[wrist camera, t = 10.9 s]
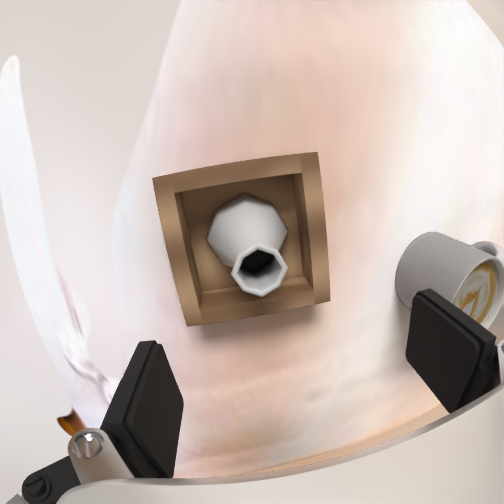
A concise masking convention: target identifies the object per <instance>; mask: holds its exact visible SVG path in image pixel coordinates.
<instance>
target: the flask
mask: <svg viewBox="0 0 504 504" xmlns="http://www.w3.org/2000/svg"><path fill="white" fill-rule="evenodd" d="M288 230H289V229H288V228H287V226H286V224H285V223H284V221H283V219H282V218H281V216H280V214H279V213H278V211H277V209H276V208H275V206H274V204H273V203H270V202H268V201H265V200H263V199H260V198H257V197H255V196H252V195H249V194H247V193H244V192H242V193H241V194H239V195H238V196H236V197H235V198H233V199H231V200H230V201H228V202H227V203H225V204H224V205H222V206H221V207H219V208H217V209H216V210H215V213H214V216H213V219H212V221H211V224H210V227H209V230H208V232H207V235H206V238H205V240H206V241H207V243H208V244H209V245H210V247H211V248H212V250H213V251H214V253H215V254H216V256H217V257H218V258H219V260H220V261H221V263H222V264H224V265H226V266H229V267H232V268H233V270H232V272H231V275H232V276H233V278H234V279H235V281H236V282H237V283H238V285H239V286H240V288H241V289H242V290H243V291H244V292H248V293H251V294H254V295H257V296H260V297H263V296H265V295H267V294H268V293H270V292H272V291H273V290H275V289H276V288H278V287H280V285H281V283H282V281H283V278H284V276H285V274H286V272H287V269H288V266H287V265H286V263H285V262H284V260H283V258H282V257H281V255H280V253H279V252H280V249H281V247H282V245H283V242H284V240H285V238H286V235H287V233H288Z"/></svg>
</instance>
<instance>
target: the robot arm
mask: <svg viewBox="0 0 504 504" xmlns="http://www.w3.org/2000/svg"><path fill="white" fill-rule="evenodd" d="M497 344H498V347H497V346H496V345H497ZM406 359H407V361H408V362H409V363H410V364H411V366H412V367H413V368H414V369H415V371H416V372H417V373H418V374H419V376H420V377H421V378H422V379H423V381H424V382H425V383H426V384H427V386H428V387H429V388H430V389H431V391H432V392H433V393H434V394H435V396H436V397H437V398H438V400H439V401H440V402H441V403H442V405H443V406H444V407H445V409H446V410H447V411H448V412H449V413H450V414H449V415H447V416H445V417H443V418H441V419H439V420H437V421H435V422H433V423H431V424H428V425H426V426H424V427H422V428H420V429H417V430H415V431H413V432H410V433H408V434H406V435H403V436H401V437H398V438H396V439H393V440H391V441H388V442H385V443H382V444H379V445H377V446H374V447H371V448H368V449H365V450H362V451H359V452H356V453H352V454H349V455H345V456H342V457H338V458H334V459H331V460H327V461H323V462H318V463H314V464H310V465H305V466H300V467H295V468H290V469H284V470H279V471H272V472H265V473H258V474H249V475H240V476H228V477H213V478H172V477H173V475H174V467H175V460H176V453H177V446H178V439H179V432H180V426H181V419H182V413H183V407H184V402H183V398H182V395H181V393H180V390H179V388H178V385H177V383H176V380H175V378H174V375H173V373H172V370H171V368H170V365H169V362H168V360H167V357H166V354H165V351H164V349H163V346H162V345H161V344H157V342H156V341H155V340H152V341H141V342H139V343H138V345H137V347H136V350H135V352H134V354H133V356H132V358H131V360H130V362H129V365H128V367H127V369H126V371H125V373H124V376H123V378H122V379H121V381H120V383H119V385H118V387H117V390H116V392H115V394H114V396H113V399H112V401H111V403H110V406H109V408H108V410H107V413H106V415H105V417H104V420H103V422H102V425H101V427H100V429H97V428H87V429H84V430H81V431H79V432H78V433H76V434H75V435H74V436H73V437H72V438H71V440H70V441H69V444H68V453H69V456H67V457H65V458H63V459H61V460H59V461H57V462H55V463H53V464H51V465H49V466H47V467H45V468H43V469H41V470H38V471H36V472H34V473H32V474H31V475H29V476H28V477H27V478H26V479H25V480H24V482H23V485H22V496H20V495H18V494H16V495H15V496H14V497H13V498H12V499H11V500H10V501H8V502H7V503H6V504H504V299H503V302H502V305H501V307H500V310H499V312H498V314H497V316H496V318H495V319H494V321H493V323H492V324H491V326H490V327H489V328H488V329H486V328H484V327H483V326H482V325H481V324H479V323H478V322H477V321H475V320H474V319H473V318H471V317H470V316H469V315H467V314H466V313H465V312H463V311H462V310H460V309H459V308H458V307H456V306H455V305H454V304H452V303H451V302H449V301H448V300H447V299H445V298H444V297H442V296H441V295H440V294H438V293H437V292H435V291H434V290H432V289H431V288H428V289H425V290H421V291H418V292H417V293H416V295H415V296H414V297H413V300H412V309H411V318H410V326H409V334H408V341H407V347H406Z"/></svg>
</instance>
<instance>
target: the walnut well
mask: <svg viewBox="0 0 504 504" xmlns="http://www.w3.org/2000/svg"><path fill="white" fill-rule="evenodd" d="M152 180H153V185H154V191H155V196H156V201H157V206H158V211H159V216H160V221H161V226H162V230H163V235H164V239H165V244H166V248H167V252H168V257H169V261H170V265H171V269H172V273H173V277H174V281H175V285H176V289H177V292H178V296H179V300H180V304H181V307H182V311H183V314H184V318H185V321H186V325H187V327H189V326H196V325H203V324H209V323H216V322H222V321H229V320H235V319H241V318H247V317H252V316H258V315H264V314H269V313H274V312H280V311H285V310H290V309H295V308H300V307H305V306H310V305H314V304H319V303H324V302H328V301H330V280H329V263H328V248H327V235H326V223H325V212H324V202H323V193H322V184H321V175H320V167H319V160H318V152H312V153H302V154H292V155H284V156H275V157H268V158H260V159H253V160H246V161H240V162H233V163H227V164H221V165H215V166H210V167H204V168H199V169H193V170H188V171H183V172H178V173H173V174H169V175H164V176H160V177H155V178H152ZM242 192H244V193H247V194H249V195H252V196H255V197H257V198H260V199H263V200H265V201H268V202H270V203H273V204H274V206H275V208H276V209H277V211H278V213H279V214H280V216H281V218H282V219H283V221H284V223H285V224H286V226H287V228H288V229H289V230H288V233H287V235H286V238H285V240H284V242H283V245H282V247H281V249H280V252H279V253H280V255H281V257H282V258H283V260H284V262H285V263H286V265H287V266H288V269H287V272H286V274H285V276H284V278H283V281H282V283H281V285H280V287H278V288H276V289H275V290H273V291H272V292H270V293H268V294H267V295H265V296H263V297H260V296H257V295H254V294H251V293H248V292H244V291H243V290H242V289H241V288H240V286H239V285H238V283H237V282H236V281H235V279H234V278H233V276H232V275H231V272H232V270H233V268H232V267H229V266H226V265H224V264H222V263H221V261H220V260H219V258H218V257H217V256H216V254H215V253H214V251H213V250H212V248H211V247H210V245H209V244H208V243H207V241H206V240H205V238H206V235H207V232H208V230H209V227H210V224H211V221H212V219H213V216H214V213H215V210H216V209H217V208H219V207H221V206H222V205H224V204H225V203H227V202H228V201H230V200H231V199H233V198H235V197H236V196H238V195H239V194H241V193H242Z"/></svg>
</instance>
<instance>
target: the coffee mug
mask: <svg viewBox="0 0 504 504" xmlns="http://www.w3.org/2000/svg"><path fill="white" fill-rule="evenodd" d="M395 285H396V291H397V294H398V297H399V299H400V300H401V301H402V302H403V303H404V304H405V305H406V306H407V307H408V308H410V309H412V300H413V297H414V296H415V295H416V293H417V292H418V291H421V290H425V289H428V288H431V289H432V290H434V291H435V292H437V293H438V294H440V295H441V296H442V297H444V298H445V299H447V300H448V301H449V302H451V303H452V304H454V305H455V306H456V307H458V308H459V309H460V310H462V311H463V312H465V313H466V314H467V315H469V316H470V317H471V318H473V319H474V320H475V321H477V322H478V323H479V324H481V325H482V326H483V327H484V328H486V329H488V328H489V327H490V326H491V324H492V323H493V321H494V319H495V318H496V316H497V314H498V312H499V310H500V307H501V305H502V302H503V299H504V250H503V249H502V248H501V247H500V246H498V245H497V244H494V243H491V242H485V241H483V242H477V243H475V244H473V245H471V246H470V245H468V244H465V243H463V242H461V241H458V240H456V239H453V238H451V237H448V236H446V235H443V234H441V233H438V232H428V233H425V234H422V235H420V236H419V237H417V238H416V239H415V240H414V241H412V242H411V243H410V245H409V246H408V247H407V248H406V250H405V251H404V253H403V255H402V257H401V259H400V261H399V264H398V267H397V271H396V278H395Z"/></svg>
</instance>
